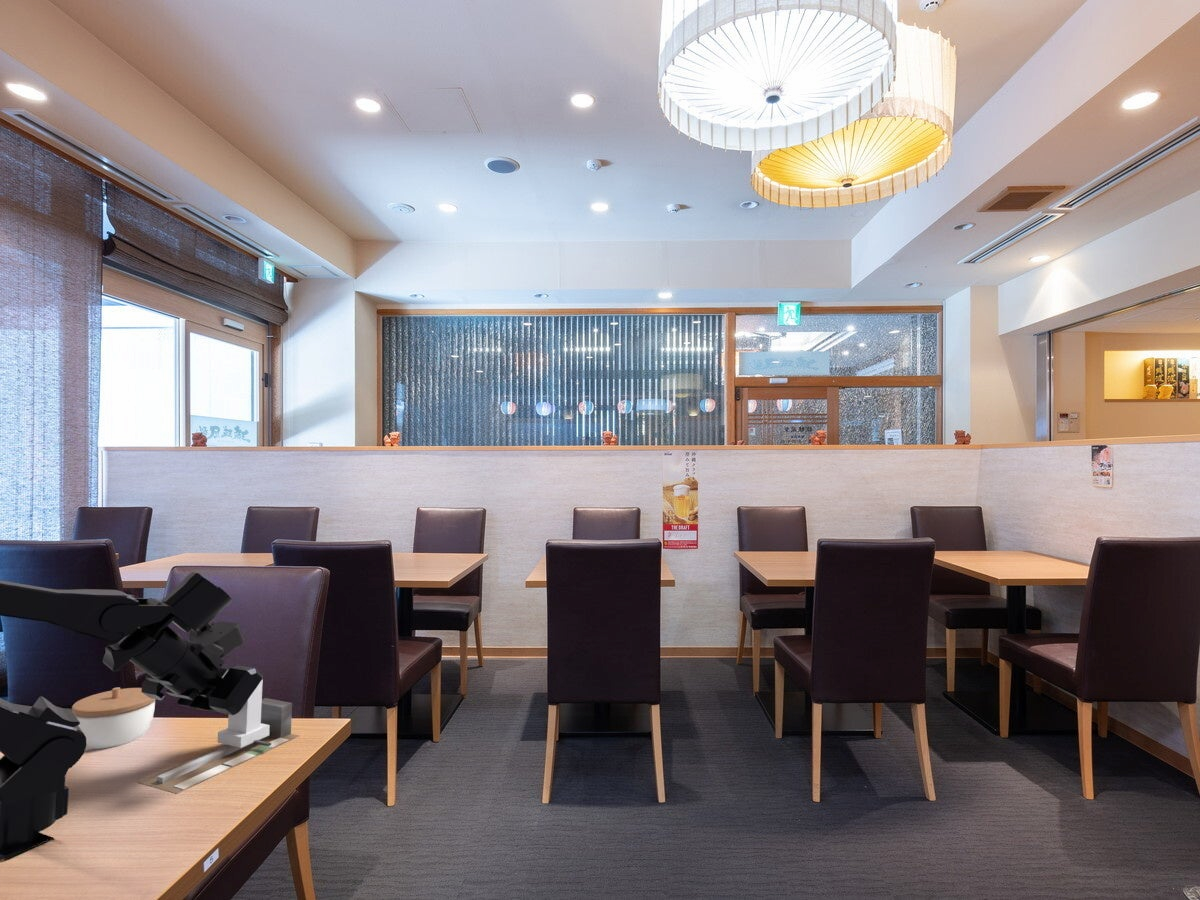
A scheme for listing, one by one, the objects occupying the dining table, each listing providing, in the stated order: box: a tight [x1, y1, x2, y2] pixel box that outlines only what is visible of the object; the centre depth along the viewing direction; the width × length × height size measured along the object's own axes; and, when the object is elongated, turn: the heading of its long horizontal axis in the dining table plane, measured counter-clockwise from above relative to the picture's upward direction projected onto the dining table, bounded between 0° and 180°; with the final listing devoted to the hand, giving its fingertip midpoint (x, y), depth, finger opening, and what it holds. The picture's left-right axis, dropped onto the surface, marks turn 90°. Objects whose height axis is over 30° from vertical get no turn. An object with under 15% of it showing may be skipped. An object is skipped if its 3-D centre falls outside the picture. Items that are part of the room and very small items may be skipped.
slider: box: [217, 678, 271, 748], centre depth 94 cm, size 5×8×10 cm, turn 69°
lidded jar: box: [71, 687, 157, 752], centre depth 97 cm, size 11×11×9 cm
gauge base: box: [137, 697, 300, 795], centre depth 91 cm, size 20×8×6 cm, turn 159°
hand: (236, 710), depth 93 cm, fingers closed
